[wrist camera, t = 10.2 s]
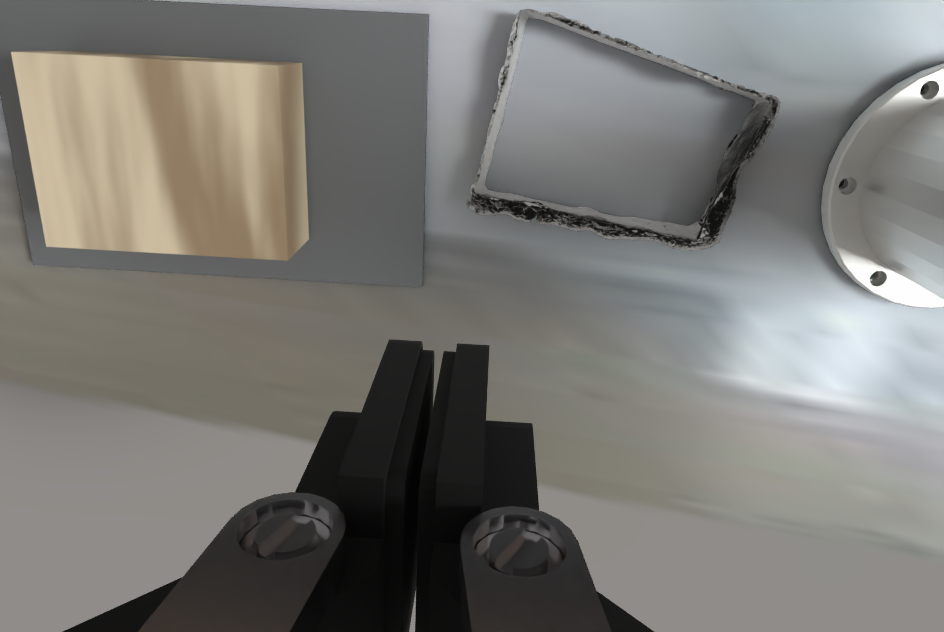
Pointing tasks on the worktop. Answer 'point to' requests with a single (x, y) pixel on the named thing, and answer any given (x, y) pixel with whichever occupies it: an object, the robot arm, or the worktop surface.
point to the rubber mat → (325, 117)
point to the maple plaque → (166, 152)
